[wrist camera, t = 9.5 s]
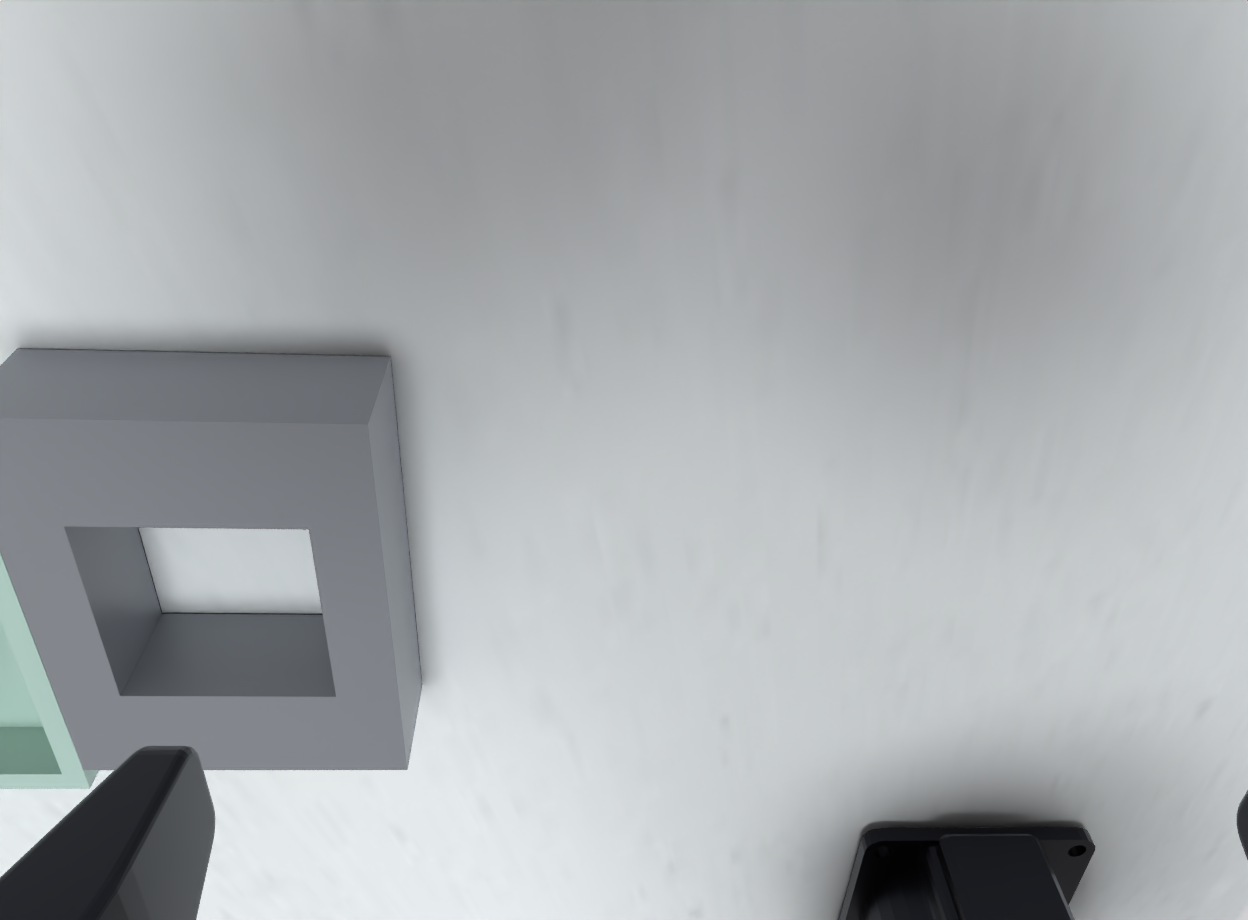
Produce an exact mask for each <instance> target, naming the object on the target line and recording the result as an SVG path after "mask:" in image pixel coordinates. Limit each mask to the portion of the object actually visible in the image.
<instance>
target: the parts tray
mask: <svg viewBox="0 0 1248 920" xmlns="http://www.w3.org/2000/svg"><path fill="white" fill-rule="evenodd" d="M98 771H99V770H83V767H82V765H81V762H80V760H79V757H78V754H77V752H76V749H75V746H74V744H73V741H72V739H71V736H70V733H69V731H68V728H67V725H66V723H65V720H64V718H63V715H62V712H61V710H60V707H59V704H58V702H57V699H56V697H55V694H54V691H53V689H52V686H51V683H50V681H49V678H48V676H47V673H46V670H45V668H44V665H43V662H42V660H41V657H40V655H39V652H38V649H37V647H36V644H35V642H34V639H33V636H32V634H31V631H30V628H29V626H28V623H27V621H26V618H25V615H24V613H23V610H22V607H21V605H20V602H19V600H18V597H17V594H16V592H15V589H14V586H13V584H12V581H11V579H10V576H9V573H8V571H7V568H6V565H5V563H4V560H3V558H2V555H1V552H0V789H90V787H91V785H92V783H93V781H94V779H95V777H96V775H97V773H98Z"/></svg>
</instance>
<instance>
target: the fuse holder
mask: <svg viewBox="0 0 1248 920" xmlns="http://www.w3.org/2000/svg"><path fill="white" fill-rule="evenodd" d="M137 527H153V528H239V529H309V534H310V540H311V546H312V552H313V558H314V564H315V570H316V576H317V583H318V589H319V595H320V601H321V607H322V613H323V615H277V614H162V613H161V610H160V606H159V602H158V599H157V595H156V592H155V588H154V585H153V581H152V578H151V574H150V570H149V567H148V563H147V560H146V556H145V553H144V549H143V545H142V542H141V538H140V535H139V531H138V528H137ZM0 552H1V555H2V558H3V560H4V563H5V565H6V568H7V571H8V573H9V576H10V579H11V581H12V584H13V586H14V589H15V592H16V594H17V597H18V600H19V602H20V605H21V607H22V610H23V613H24V615H25V618H26V621H27V623H28V626H29V628H30V631H31V634H32V636H33V639H34V642H35V644H36V647H37V649H38V652H39V655H40V657H41V660H42V662H43V665H44V668H45V670H46V673H47V676H48V678H49V681H50V683H51V686H52V689H53V691H54V694H55V697H56V699H57V702H58V704H59V707H60V710H61V712H62V715H63V718H64V720H65V723H66V725H67V728H68V731H69V733H70V736H71V739H72V741H73V744H74V746H75V749H76V752H77V754H78V757H79V760H80V762H81V765H82V767H83V770H115V769H116V768H118V767H119V766H120V765H121V764H122V763H123V762H124V761H125V760H126V759H127V758H128V757H129V756H130V755H132V754H133V753H134V752H135V751H137V750H139V749H141V748H143V747H146V746H189V747H192V748H193V749H195V751H196V752H197V753H198V755H199V758H200V760H201V764H202V767H203V770H407V769H408V764H409V758H410V752H411V747H412V741H413V735H414V729H415V724H416V718H417V712H418V707H419V701H420V695H421V690H422V681H421V670H420V660H419V649H418V639H417V628H416V618H415V608H414V597H413V587H412V576H411V566H410V555H409V545H408V534H407V524H406V514H405V503H404V493H403V482H402V472H401V461H400V451H399V440H398V430H397V420H396V409H395V399H394V388H393V378H392V367H391V357H389V356H341V355H292V354H244V353H196V352H147V351H99V350H51V349H17V350H16V351H15V352H14V353H13V354H12V355H11V356H10V357H9V358H8V359H7V360H6V361H5V362H4V363H3V364H2V365H1V366H0Z"/></svg>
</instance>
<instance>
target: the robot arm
mask: <svg viewBox="0 0 1248 920" xmlns="http://www.w3.org/2000/svg"><path fill="white" fill-rule="evenodd" d="M1237 828H1238V834H1239V837H1240V840H1241V843H1242V846H1243V848H1244V851H1245V854H1246V857H1247V859H1248V791H1247V792H1246V794H1245V796H1244V798H1243V799H1242V801H1241V803H1240V805H1239V807H1238V812H1237ZM214 832H215V811H214V807H213V803H212V799H211V796H210V792H209V789H208V785H207V782H206V778H205V775H204V771H203V767H202V764H201V760H200V758H199V755H198V753H197V752H196V751H195V749H193V748H192V747H189V746H146V747H143V748H141V749H139V750H137V751H135V752H134V753H133V754H132V755H130V756H129V757H128V758H127V759H126V760H125V761H124V762H123V763H122V764H121V765H120V766H119V767H118V768H116V769H115V770H114V771H113V772H112V773H111V774H110V775H109V776H108V777H107V778H106V779H105V780H104V781H103V782H102V783H101V784H99V785H98V786H97V787H96V788H95V789H94V790H93V791H92V792H91V793H90V794H89V795H88V796H87V797H86V798H85V799H83V800H82V801H81V802H80V803H79V804H78V805H77V806H76V807H75V808H74V809H73V810H72V811H71V812H70V813H69V814H68V815H66V816H65V817H64V818H63V819H62V820H61V821H60V822H59V823H58V824H57V825H56V826H55V827H54V828H53V829H52V830H50V831H49V832H48V833H47V834H46V835H45V836H44V837H43V838H42V839H41V840H40V841H39V842H38V843H37V844H36V845H34V846H33V847H32V848H31V849H30V850H29V851H28V852H27V853H26V854H25V855H24V856H23V857H22V858H21V859H20V860H19V861H17V862H16V863H15V864H14V865H13V866H12V867H11V868H10V869H9V870H8V871H7V872H6V873H5V874H4V875H3V876H1V877H0V920H196V918H197V913H198V908H199V904H200V899H201V895H202V890H203V886H204V881H205V876H206V872H207V867H208V863H209V858H210V853H211V849H212V844H213V839H214ZM1094 851H1095V845H1094V843H1093V841H1092V839H1091V837H1090V835H1089V833H1088V831H1087V830H1085V829H1083V828H1077V827H1044V828H879V829H874V830H871V831H869V832H867V833H866V834H865V835H863V837H862V839H861V842H860V845H859V849H858V853H857V856H856V860H855V864H854V867H853V871H852V874H851V878H850V882H849V885H848V889H847V893H846V896H845V900H844V904H843V907H842V911H841V914H840V918H839V920H1074V918H1073V915H1072V913H1071V911H1070V908H1069V906H1068V905H1069V903H1070V901H1071V899H1072V896H1073V894H1074V892H1075V890H1076V888H1077V886H1078V884H1079V882H1080V880H1081V878H1082V876H1083V874H1084V872H1085V870H1086V868H1087V865H1088V863H1089V861H1090V859H1091V857H1092V855H1093V853H1094Z"/></svg>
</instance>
